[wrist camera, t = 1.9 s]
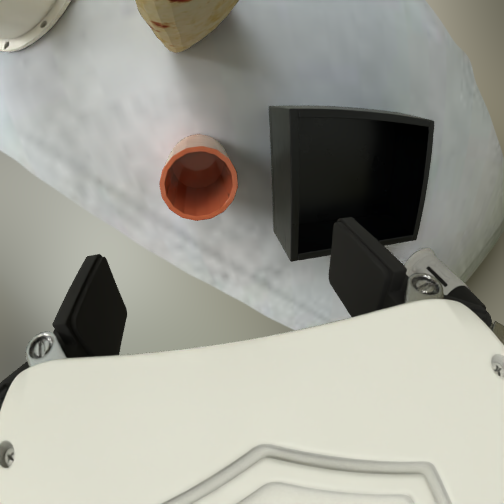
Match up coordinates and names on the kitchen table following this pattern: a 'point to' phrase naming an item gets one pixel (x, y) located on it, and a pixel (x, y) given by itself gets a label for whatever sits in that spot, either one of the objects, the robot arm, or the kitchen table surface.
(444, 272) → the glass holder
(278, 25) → the kitchen table surface
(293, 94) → the kitchen table surface
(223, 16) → the food model
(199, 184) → the cup
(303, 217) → the black storage bin
